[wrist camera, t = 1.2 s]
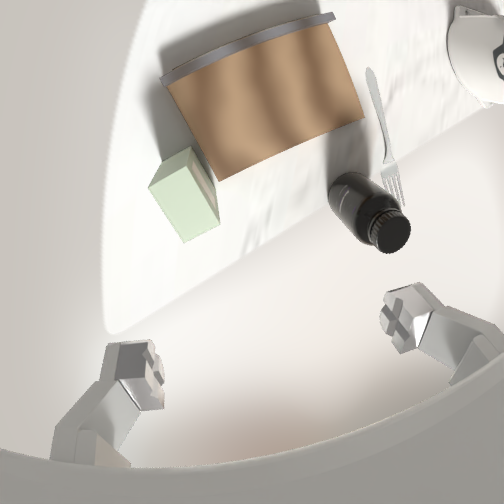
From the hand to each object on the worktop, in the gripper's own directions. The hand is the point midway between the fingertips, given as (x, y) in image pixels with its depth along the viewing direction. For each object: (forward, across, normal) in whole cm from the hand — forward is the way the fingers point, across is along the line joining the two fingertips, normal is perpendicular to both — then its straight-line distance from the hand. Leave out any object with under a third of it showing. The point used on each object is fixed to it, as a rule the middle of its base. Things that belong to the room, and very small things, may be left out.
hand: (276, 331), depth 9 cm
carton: (+29, +3, +2) cm, 29 cm away
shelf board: (+28, -7, -7) cm, 30 cm away
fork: (+28, -23, -2) cm, 37 cm away
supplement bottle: (+28, -18, +7) cm, 34 cm away
